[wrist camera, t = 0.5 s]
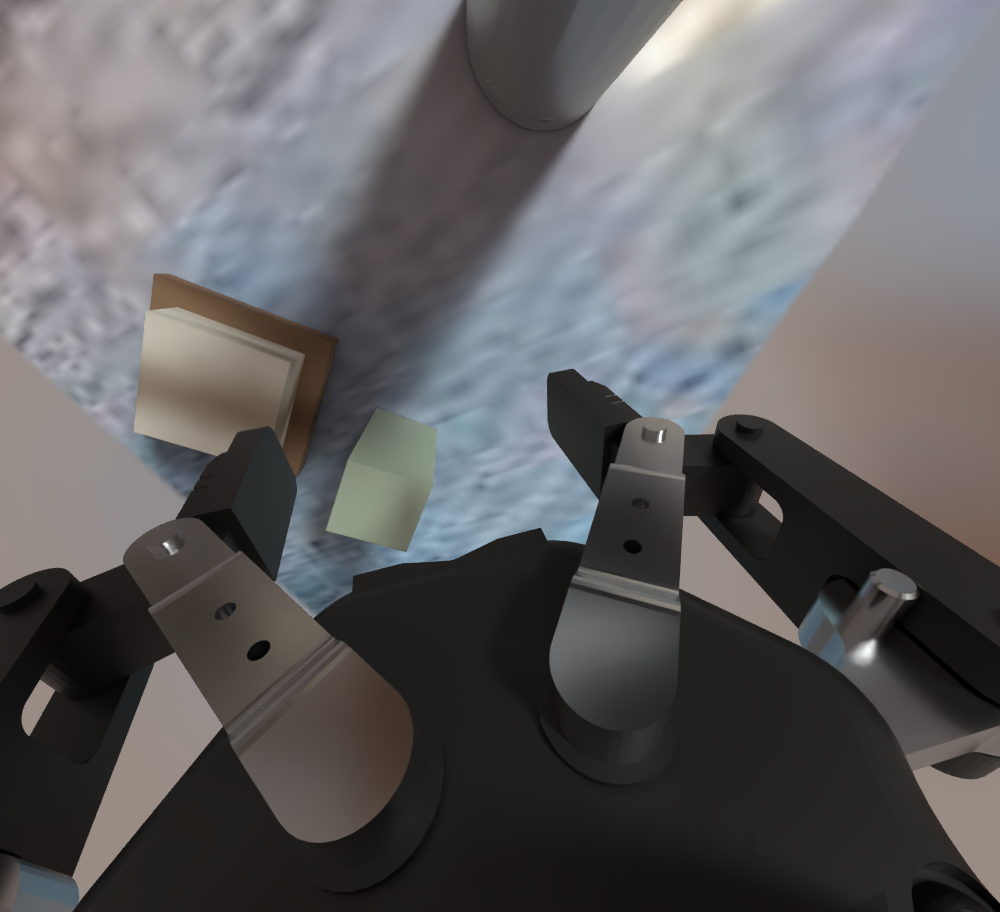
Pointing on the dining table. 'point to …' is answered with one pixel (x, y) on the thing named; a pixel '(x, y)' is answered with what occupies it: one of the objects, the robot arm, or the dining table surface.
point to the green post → (386, 481)
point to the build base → (227, 371)
